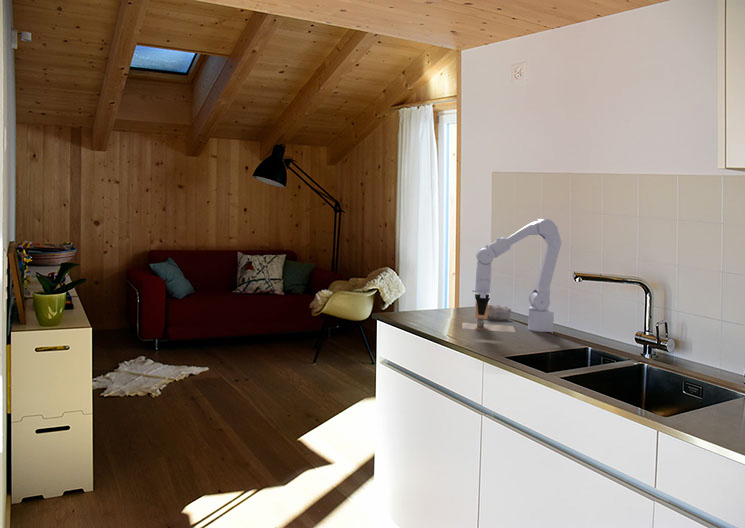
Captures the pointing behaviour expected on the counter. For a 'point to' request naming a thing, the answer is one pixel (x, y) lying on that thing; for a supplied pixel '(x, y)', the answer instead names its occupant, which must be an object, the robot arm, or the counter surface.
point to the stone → (498, 312)
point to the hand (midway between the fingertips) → (481, 313)
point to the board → (487, 326)
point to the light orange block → (481, 315)
